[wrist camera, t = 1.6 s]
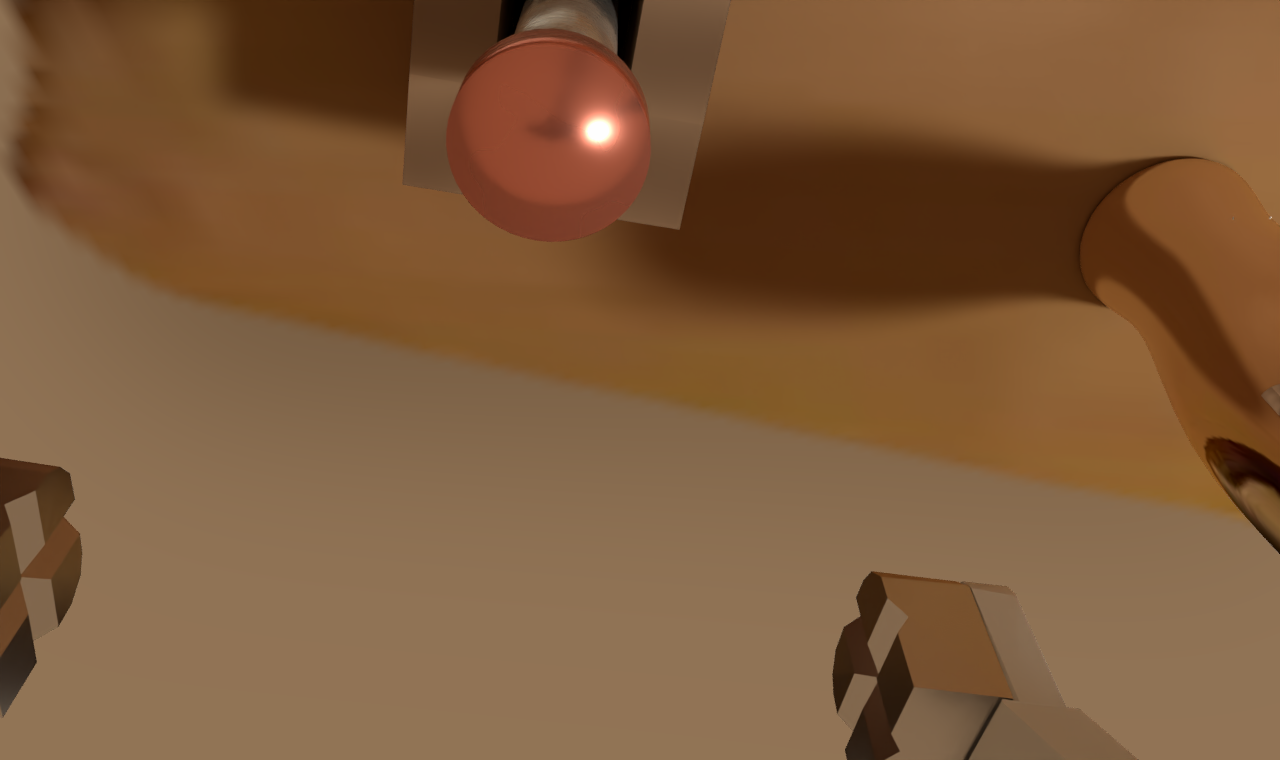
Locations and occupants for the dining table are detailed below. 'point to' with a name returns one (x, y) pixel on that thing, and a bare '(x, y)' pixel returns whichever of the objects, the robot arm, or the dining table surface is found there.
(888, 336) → the dining table surface
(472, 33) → the block
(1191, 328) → the beer glass
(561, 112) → the pin
